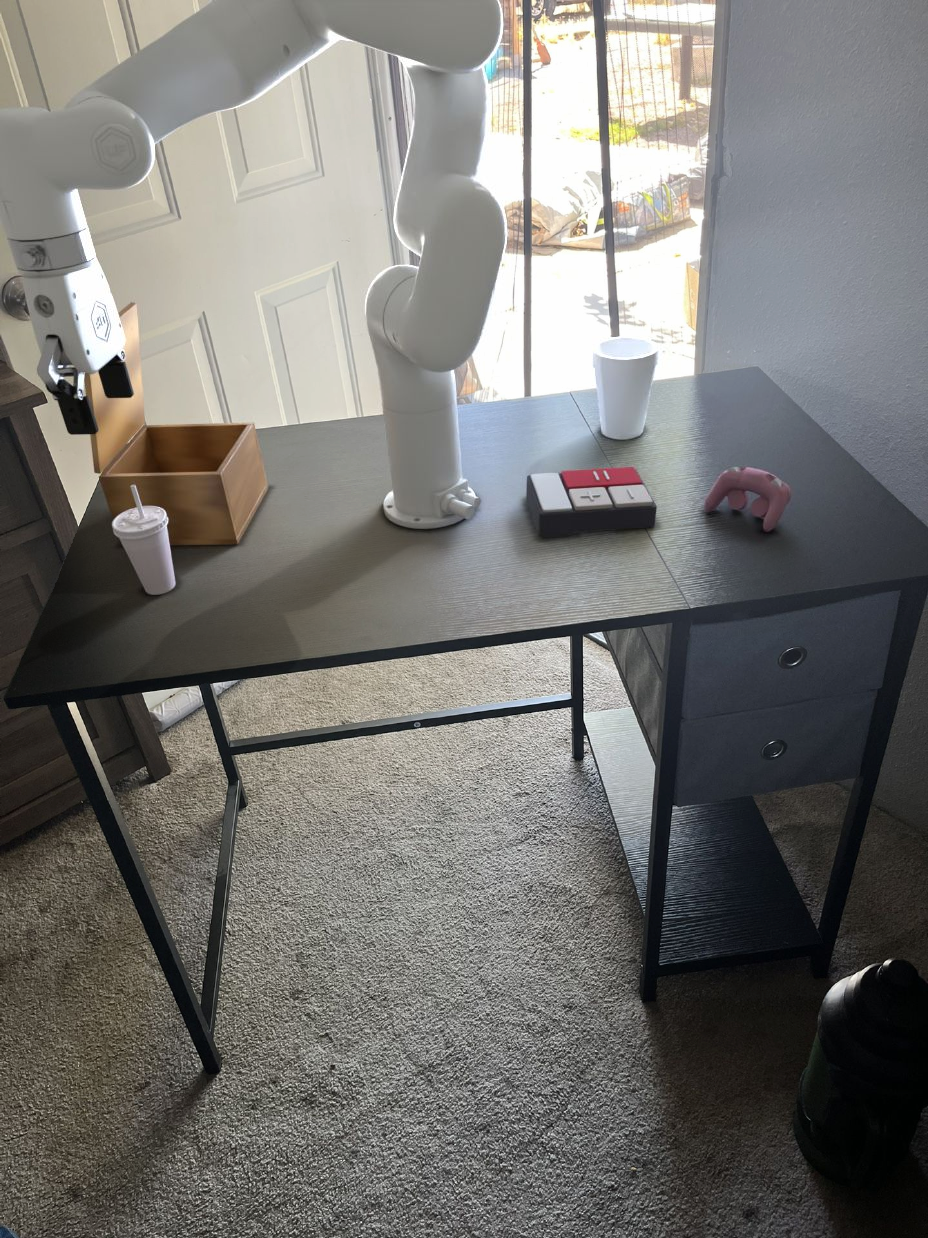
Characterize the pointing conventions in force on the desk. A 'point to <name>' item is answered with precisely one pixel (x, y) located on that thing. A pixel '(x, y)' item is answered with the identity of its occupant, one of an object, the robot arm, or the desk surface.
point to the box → (191, 479)
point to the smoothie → (147, 545)
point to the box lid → (117, 399)
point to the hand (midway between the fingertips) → (102, 414)
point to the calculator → (589, 501)
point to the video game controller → (755, 481)
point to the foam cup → (624, 383)
